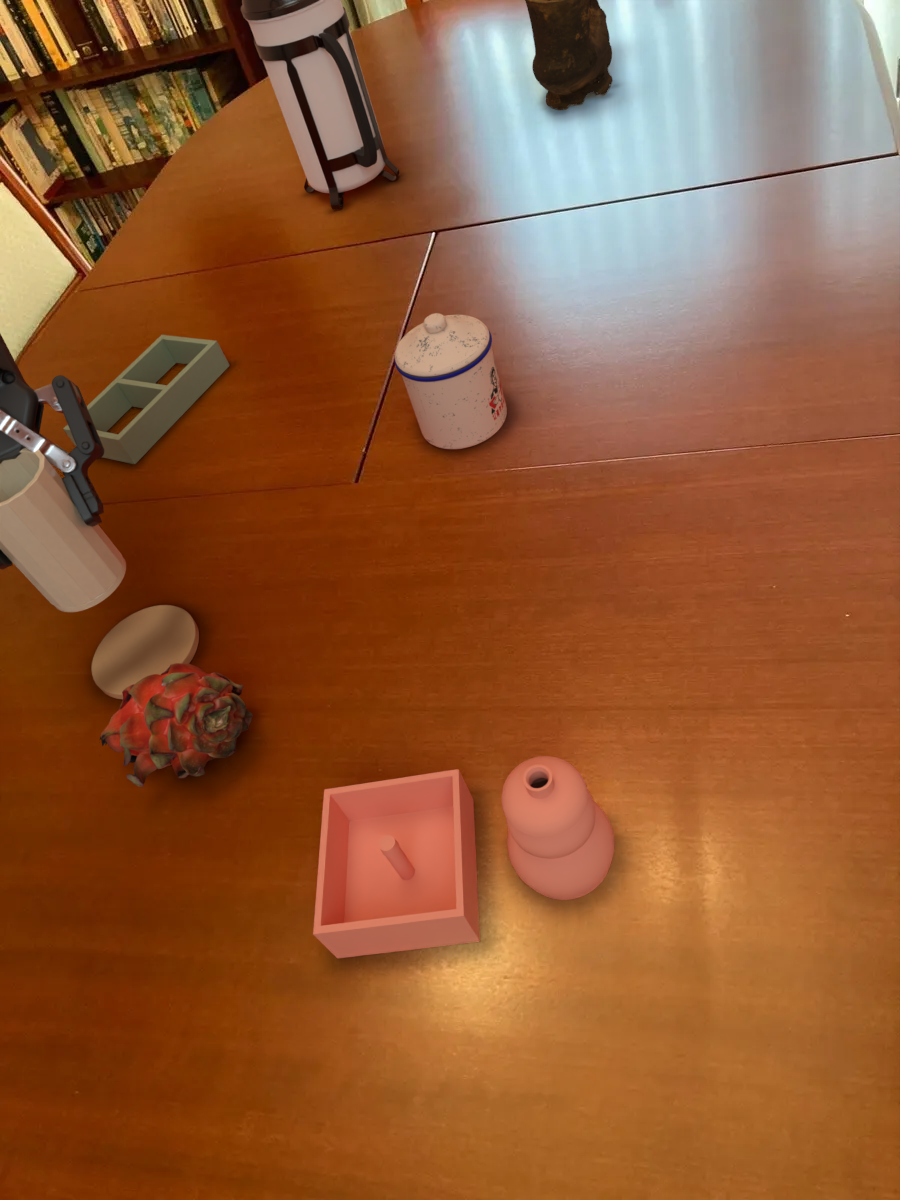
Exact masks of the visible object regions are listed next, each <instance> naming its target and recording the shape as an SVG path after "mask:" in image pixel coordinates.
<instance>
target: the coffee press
mask: <svg viewBox="0 0 900 1200" xmlns="http://www.w3.org/2000/svg"><path fill="white" fill-rule="evenodd" d="M241 4H242V5H241V6H240V12H241V15H242V17H243V19H245V21H247V23H248V25H249V27H250V30H251V32H252V35H253V43H254V46H255V48H256V51H257V54H258V57H259V59H260V60H262V63H263V65H264V68H265V70H266V71H265V72H266V73H267V77H268V79H269V82H270V84H271V87H272V89H273V92H274V94H275V98H276V100H277V103H278V107H279V109H280V111H281V113H282V116H283V119H284V122H285V124H286V127H287V129H288V132H289V136H290V138H291V140H292V141H291V142H292V143H293V145H294V146H293V147H294V149H295V151H296V153H297V156H298V159H299V162H300V165H301V167H302V170H303V172H304V175H305V181H304V185H303V186H304V187H303V189H304V191H305V192H306V193H308V194H313V193H314V192H315V191H317V192H320V193H324V194H328V195H329V205H330V208H331V210H333V211H336V210H343V209H344V195H345V192H348V191H352V190H355V189H357V188H359V187H362V186H364V185H366V184H367V183H369V182H371V181H372V180H374V179H375V178H376V177H378V176H380V177H383V178H385V179H386V180H388V181H389V182H396V181H397V180H398V178H399V176H400V169H399V168H398V167H397V166H396V165H395V164H394V163H393V162H392V161H391V160H390V159H389V157H388V155H387V152H386V148H385V145H384V142H383V138H382V135H381V131H380V127H379V123H378V121H377V117H376V113H375V111H374V107H373V104H372V100H371V97H370V93H369V90H368V87H367V83H366V80H365V76H364V74H363V70H362V67H361V63H360V60H359V57H358V53H357V51H356V47H355V43H354V40H353V37H352V33H351V30H350V25H351V24H350V21H349V17H348V13H347V11H346V8H345V7H344V6H343V3H342V0H241ZM386 166H387V168H388V169H390V170H391V172H393V173H394V175H392V174H391V173H390V172H388V171H386V170H383V169H384V168H385V167H386Z"/></svg>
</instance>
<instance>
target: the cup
mask: <svg viewBox="0 0 900 1200" xmlns="http://www.w3.org/2000/svg"><path fill="white" fill-rule="evenodd" d="M20 452H21V454H20V455H19V456H18V457H17V458H15V459H10V460H4V461H3V462H2V463H1V464H0V550H1V551H2V552H3V553H4V554H5V555H6V556H7V557H8V558H9V559H10V560H11V561H12V563H13V565H14V566H15V567H16V568H17V569H18V570H19V571H20V572H21V573H22V574H23V575H24V576H25V578H26V579H27V580H28V581H29V582H30V583H31V584H32V585H33V587H35V589H37V591H39V593H40V594H41V595H42V596H43V597H44V598H45V599H46V601H48V602H49V604H51V605H52V606H53V608H55V609H57V610H58V611H61V612H63V613H79V612H83V611H86V610H88V609H89V610H90V608H93V607H96V606H97V605H98V604H100V603H102V602H103V601H105V600H106V599H108V597H110V596H111V595H112V594H113V593H114V592H115V591H116V590H117V589H118V587H119V586H120V584H121V583H122V582H123V579H124V578H125V576H126V575H125V574H126V572H127V561H126V559H125V557H124V556H123V554H122V553H121V552H120V550H119V549H118V548H117V546H116V545H115V544H114V543H113V541H112V540H111V539H110V538H109V536H108V535H107V534H106V532H105V531H104V530H103V529H102V528H101V526H100V525H99V524H98V525H96V526H93V527H92V526H88V525H86V524H85V522H84V521H83V519H82V517H81V515H80V513H79V511H78V510H77V508H76V506H75V504H74V502H73V500H72V498H71V496H70V494H69V492H68V490H67V488H66V487H65V485H64V483H63V480H62V478H63V477H61V475H60V474H59V472H58V471H57V470H56V469H55V467H54V466H53V465H52V464H51V463H49V461H48V460H47V459H46V458H45V456H44V455H43V454H42V453H41V452H40V450H37V451H35V452H32V451H31V450H29V449H28V448H23V449H22V450H21V451H20Z"/></svg>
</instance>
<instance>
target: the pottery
mask: <svg viewBox="0 0 900 1200" xmlns="http://www.w3.org/2000/svg"><path fill="white" fill-rule="evenodd" d="M322 800H323V801H322V813H321V825H320V826H321V827H320V840H319V854H318V866H317V879H316V890H315V891H316V892H315V906H314V918H313V930H312V931H313V932H312V935H313V936H314V937H315V938H316V939H317V940H318V941H319V942H320V943H321V944H322V945H323V946H324V947H325V948H326V949H327V950H328V951H329V952H330V953H331V954H332V955H333V956H335V958H337V959H344V958H352V957H361V956H362V957H363V956H371V955H378V954H388V953H394V952H405V951H412V950H421V949H428V948H429V949H430V948H437V947H447V946H455V945H463V944H471V943H480V942H481V934H480V933H481V932H480V912H479V891H478V890H479V888H478V870H477V869H478V868H477V867H478V865H477V847H476V827H475V826H476V825H475V805H474V804H475V803H474V798H473V796H472V793H471V792H470V790H469V788H468V785H467V784H466V782H465V780H464V778H463V775H462V773H461V771H460V769H458V768H457V769H450V770H443V771H437V772H430V773H424V774H418V775H411V776H405V777H404V776H403V777H398V778H391V779H385V780H378V781H372V782H365V783H358V784H351V785H345V786H338V787H332V788H331V787H330V788H325V789H323V799H322ZM501 807H502V812H503V814H504V816H505V824H506V826H507V831H508V832H507V837H506V838H507V839H506V844H507V854H508V857H509V861H510V864H511V865H512V867H513V870H514V872H515V874H516V875H517V876H518V877H519V878H520V880H521V881H522V882H523V883H525V884H526V885H527V886H528V887H529V888H531V889H532V890H534V891H535V892H537V893H538V894H540V895H541V896H544V897H546V898H550V899H553V900H560V901H568V900H575V899H578V898H581V897H584V896H586V895H588V894H590V893H591V892H593V891H594V890H595V889H596V888H597V887H599V886H600V884H602V882H603V881H604V880H605V879H606V877H607V875H608V872H609V871H610V868H611V865H612V861H613V858H614V855H615V844H616V842H615V835H614V830H613V827H612V824H611V821H610V819H609V818H608V816H607V814H606V812H605V811H604V809H602V807H600V805H599V804H598V803H597V802H596V801H595V800H594V798H593V796H592V793H590V791H589V789H588V786H587V783H586V781H585V779H584V777H583V776H582V774H581V773H580V771H578V770H577V768H575V766H573V764H572V763H570V762H569V761H567V760H565V759H562V758H561V757H557V756H553V755H539V756H534V757H532V758H528V759H526V760H524V761H522V762H520V763H519V764H517V766H515V767H514V768H513V769H512V771H510V772H509V774H508V776H507V777H506V779H505V781H504V783H503V787H502V792H501Z"/></svg>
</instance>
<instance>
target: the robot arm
mask: <svg viewBox="0 0 900 1200" xmlns="http://www.w3.org/2000/svg"><path fill="white" fill-rule="evenodd" d="M45 405H49V406H50V407H51V408H52V410H54V411H56V412H57V413H59V414H62V415H63V416H64V418H65V421H66V423H67V424H66V425H68V426H69V428H70V431H71V433H72V436H73V438H74V441H75V443H76V445H77V446H75V447H73V449H72V450H71V451H70V452H67V451H66V450H65V449H64V448H62V447H61V446H60V445H58V444H56V443H55V442H54V441H52V440H50V439H49V438H48V437H46V436H45V435H43V434H42V433H41V426H42V420H43V414H44V409H45ZM23 448H28V449H29V450H31V451H32V452H35V451H37V450H40V452H41V453H42V454H43V455H44V456H45V458H46V459H47V460H48V461H49V463H50V464H51V465H52V466H53V467H54V468H56V469H58V470H59V471H61V473H62V474H63V476H64V477H61V478H62V480H63V483H64V485H65V487H66V488H67V490H68V492H69V494H70V496H71V498H72V500H73V502H74V504H75V506H76V508H77V510H78V511H79V513H80V515H81V517H82V519H83V521H84V522H85V524H86V525H88V526H92V527H93V526H96V525H99V524H102V522H103V521H102V518H101V516H100V515H102V514H103V513H105V509H104V503H103V502H102V500H101V498H100V496H99V494H98V492H97V490H96V488H95V486H94V484H93V482H92V480H91V478H90V477H89V468H90V467H91V465H92V464H93V463H94V462H95V461H96V460H100V459H101V458H103V457H102V456H103V455H104V448H103V445H102V443H101V440H100V438H99V436H98V433H97V431H96V428H95V426H94V423H93V421H92V419H91V416H90V414H89V411H88V409H87V404H86V401H85V399H84V397H83V394H82V392H81V390H80V387H79V385H77V384H76V383H75V382H74V381H72V380H71V379H69V378H68V377H66V376H64V375H61V374H60V375H59V374H58V375H56V376H54V377H53V378H52V381H51V383H50V384H47V385H44V386H41V387H38V388H35V389H33V388H32V387H31V386H30V385H29V384H28V383H27V382H26V380H25V378H24V376H23V374H22V373H21V371H20V368H19V366H18V364H17V362H16V360H15V359H14V357H13V355H12V353H11V351H10V349H9V347H8V345H7V343H6V342H5V340H4V337H3V336H2V333H0V464H1V463H2V462H3V461H4V460H10V459H15V458H17V457H18V456H19V455H20V454H21V452H20V451H21V450H22V449H23ZM13 565H14V563H13V562H12V561H11V560H10V559H9V558H8V557H7V556H6V555H5V554H4V553H3V552H2V551H1V550H0V570H5V569H8V568H9V567H11V566H13Z"/></svg>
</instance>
